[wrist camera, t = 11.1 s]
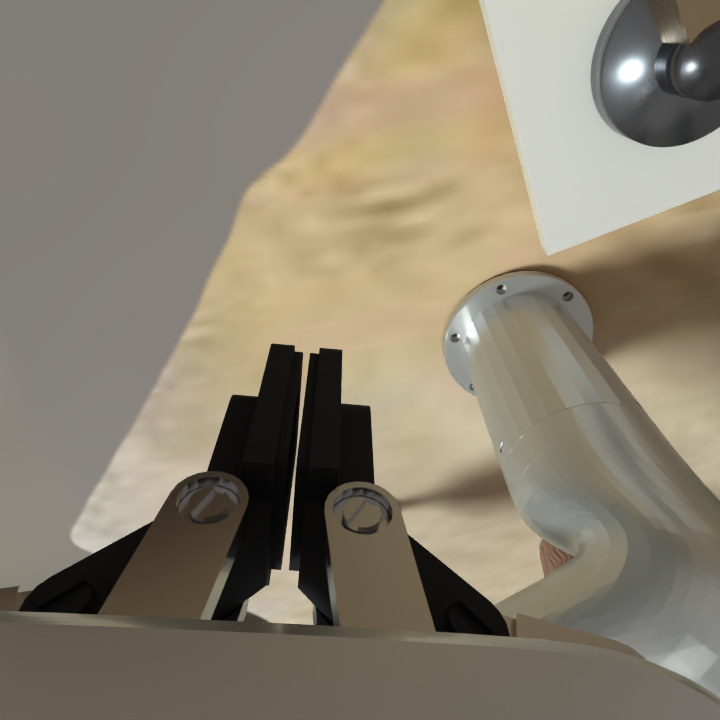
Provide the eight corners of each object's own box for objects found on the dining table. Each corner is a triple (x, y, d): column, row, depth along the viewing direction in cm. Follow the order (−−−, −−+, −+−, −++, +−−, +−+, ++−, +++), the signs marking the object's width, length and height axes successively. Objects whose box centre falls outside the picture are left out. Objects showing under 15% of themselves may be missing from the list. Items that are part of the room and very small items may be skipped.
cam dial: (774, 75, 34) (835, 82, 29) (625, 172, 37) (660, 191, 32) (696, -213, 27) (761, -258, 22) (519, -63, 30) (547, -78, 25)
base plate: (820, 140, 37) (838, 144, 36) (542, 248, 41) (549, 256, 40) (835, -237, 27) (862, -251, 26) (467, -45, 31) (472, -49, 30)
